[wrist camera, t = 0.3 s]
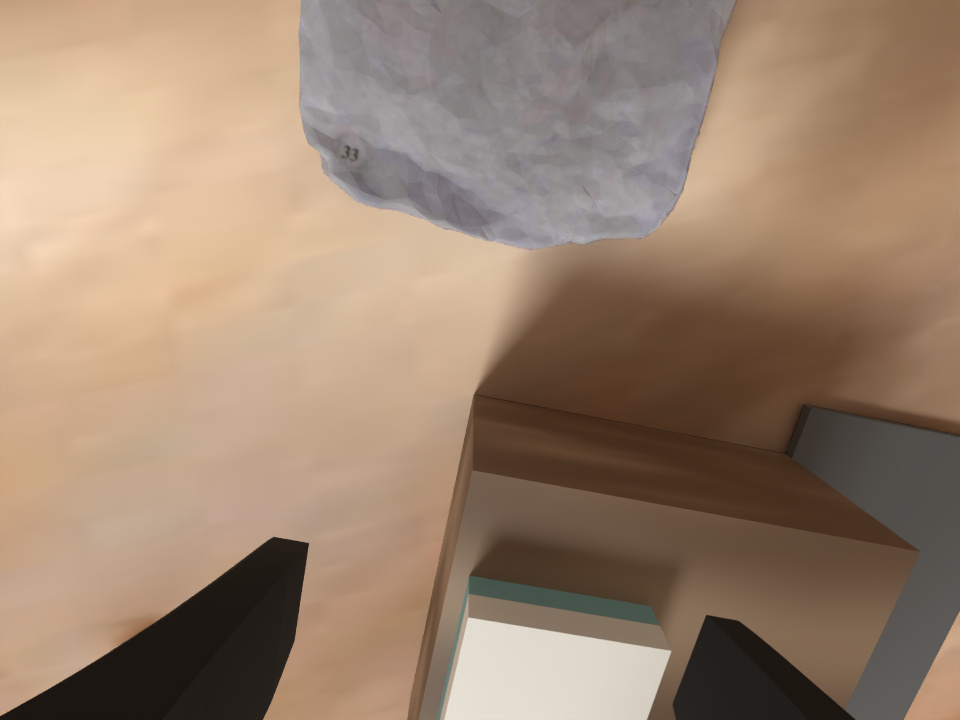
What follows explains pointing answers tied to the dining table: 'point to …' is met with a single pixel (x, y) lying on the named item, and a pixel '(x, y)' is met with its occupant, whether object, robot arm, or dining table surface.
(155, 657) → the robot arm
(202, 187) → the dining table surface
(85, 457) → the dining table surface
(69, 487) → the dining table surface
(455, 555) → the riser
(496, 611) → the teal and white sponge
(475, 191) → the stone block
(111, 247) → the dining table surface
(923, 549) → the mat
